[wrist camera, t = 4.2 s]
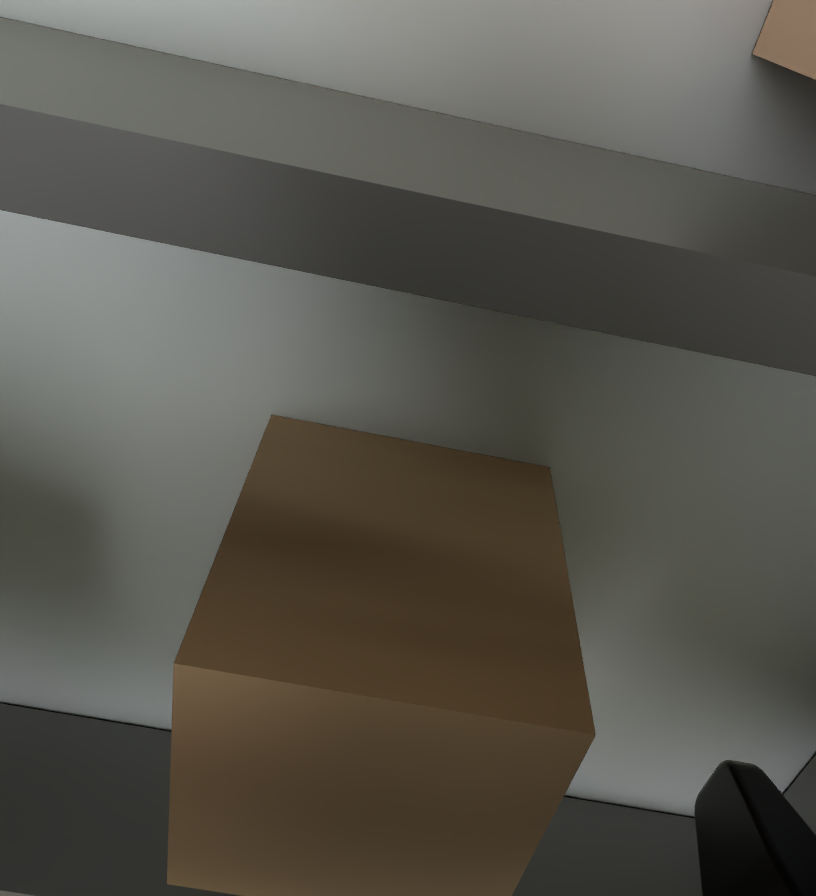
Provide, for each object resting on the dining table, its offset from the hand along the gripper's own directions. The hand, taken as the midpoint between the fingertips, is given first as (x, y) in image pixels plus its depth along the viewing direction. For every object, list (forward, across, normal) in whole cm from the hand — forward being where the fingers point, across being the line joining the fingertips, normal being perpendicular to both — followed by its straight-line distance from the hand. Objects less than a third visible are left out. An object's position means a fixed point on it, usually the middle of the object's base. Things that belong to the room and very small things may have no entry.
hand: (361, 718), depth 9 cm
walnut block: (+3, 0, 0) cm, 3 cm away
